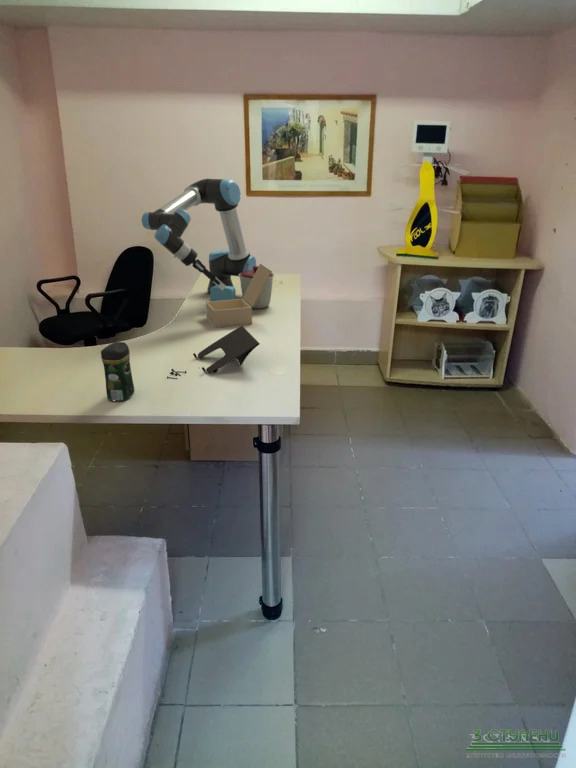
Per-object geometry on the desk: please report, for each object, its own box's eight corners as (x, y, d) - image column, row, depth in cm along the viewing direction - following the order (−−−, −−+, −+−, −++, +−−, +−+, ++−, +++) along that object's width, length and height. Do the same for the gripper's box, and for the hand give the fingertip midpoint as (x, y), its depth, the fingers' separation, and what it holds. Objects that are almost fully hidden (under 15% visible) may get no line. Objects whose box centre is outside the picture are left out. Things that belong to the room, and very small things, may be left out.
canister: (252, 313, 283) (252, 271, 274) (232, 305, 295) (231, 264, 287) (281, 307, 293) (281, 266, 284) (260, 299, 306) (260, 260, 297)
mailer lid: (260, 263, 274) (261, 264, 274) (242, 297, 277) (243, 298, 278) (270, 270, 260) (271, 271, 260) (252, 306, 263) (253, 306, 263)
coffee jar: (116, 389, 197) (109, 339, 190) (137, 391, 196) (132, 340, 188) (103, 401, 188) (95, 349, 181) (125, 403, 187) (119, 350, 180)
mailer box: (206, 318, 275) (206, 301, 272) (242, 314, 280) (242, 298, 277) (214, 327, 261) (213, 310, 258) (252, 323, 267) (251, 307, 263)
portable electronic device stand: (202, 368, 231) (190, 351, 226) (250, 339, 234) (239, 321, 229) (215, 390, 211) (203, 371, 207) (267, 358, 214) (257, 338, 209)
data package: (236, 309, 288) (235, 286, 283) (232, 312, 284) (231, 288, 279) (214, 307, 291) (213, 284, 287) (210, 310, 288) (209, 286, 283)
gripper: (177, 257, 257) (215, 290, 269) (182, 263, 246) (222, 297, 258) (188, 245, 257) (225, 278, 269) (194, 250, 246) (232, 285, 258)
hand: (223, 287), depth 264 cm, fingers closed
